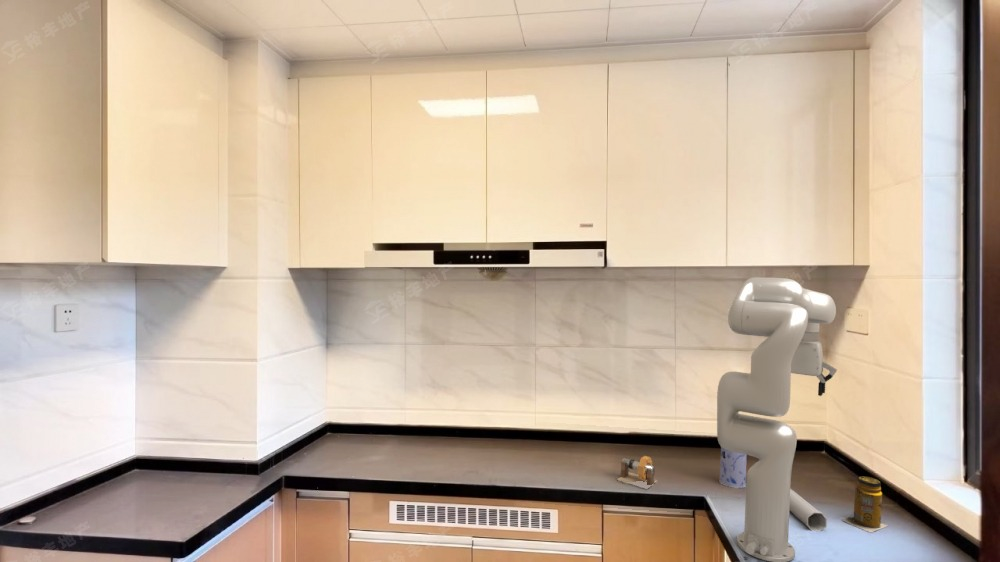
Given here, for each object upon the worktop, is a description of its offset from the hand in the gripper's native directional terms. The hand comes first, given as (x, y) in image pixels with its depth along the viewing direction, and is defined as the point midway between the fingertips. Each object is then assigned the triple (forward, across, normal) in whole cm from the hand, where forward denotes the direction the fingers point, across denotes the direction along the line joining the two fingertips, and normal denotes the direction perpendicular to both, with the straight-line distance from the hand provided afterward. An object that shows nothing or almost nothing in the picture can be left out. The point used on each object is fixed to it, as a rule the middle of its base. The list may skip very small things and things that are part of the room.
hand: (802, 392), depth 161 cm
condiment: (+31, +18, -11) cm, 38 cm away
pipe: (+27, -40, -28) cm, 56 cm away
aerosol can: (+31, -17, -8) cm, 36 cm away
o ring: (+29, -37, -28) cm, 55 cm away
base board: (+31, -40, -28) cm, 58 cm away
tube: (+31, +1, -15) cm, 35 cm away
